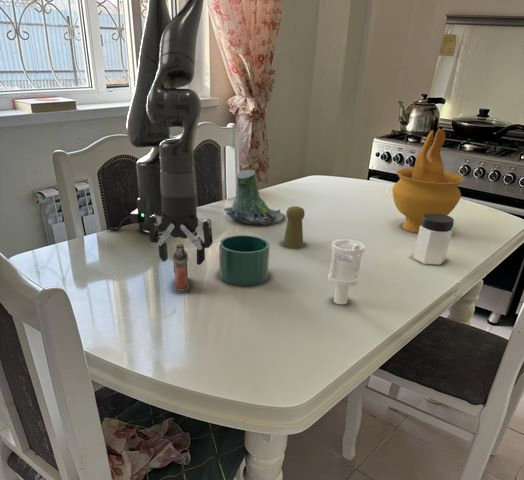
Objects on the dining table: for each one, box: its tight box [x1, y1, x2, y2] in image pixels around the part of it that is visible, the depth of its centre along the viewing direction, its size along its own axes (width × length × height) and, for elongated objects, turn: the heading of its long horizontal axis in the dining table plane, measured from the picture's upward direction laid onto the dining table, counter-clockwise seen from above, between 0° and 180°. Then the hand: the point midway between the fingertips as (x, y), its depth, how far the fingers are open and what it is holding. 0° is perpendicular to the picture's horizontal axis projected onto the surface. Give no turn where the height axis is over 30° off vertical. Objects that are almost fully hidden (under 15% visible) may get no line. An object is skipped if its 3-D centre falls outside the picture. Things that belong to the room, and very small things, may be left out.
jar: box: [412, 213, 455, 266], centre depth 139 cm, size 9×8×12 cm
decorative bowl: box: [391, 128, 465, 234], centre depth 158 cm, size 21×21×30 cm
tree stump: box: [223, 169, 284, 226], centre depth 164 cm, size 18×20×18 cm
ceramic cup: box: [218, 234, 270, 287], centre depth 125 cm, size 12×12×8 cm
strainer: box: [327, 238, 365, 305], centre depth 113 cm, size 7×7×15 cm
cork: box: [282, 205, 306, 249], centre depth 145 cm, size 6×6×11 cm
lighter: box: [172, 242, 190, 294], centre depth 118 cm, size 8×3×10 cm, turn 5°
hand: (182, 261), depth 118 cm, fingers open, 8 cm apart
